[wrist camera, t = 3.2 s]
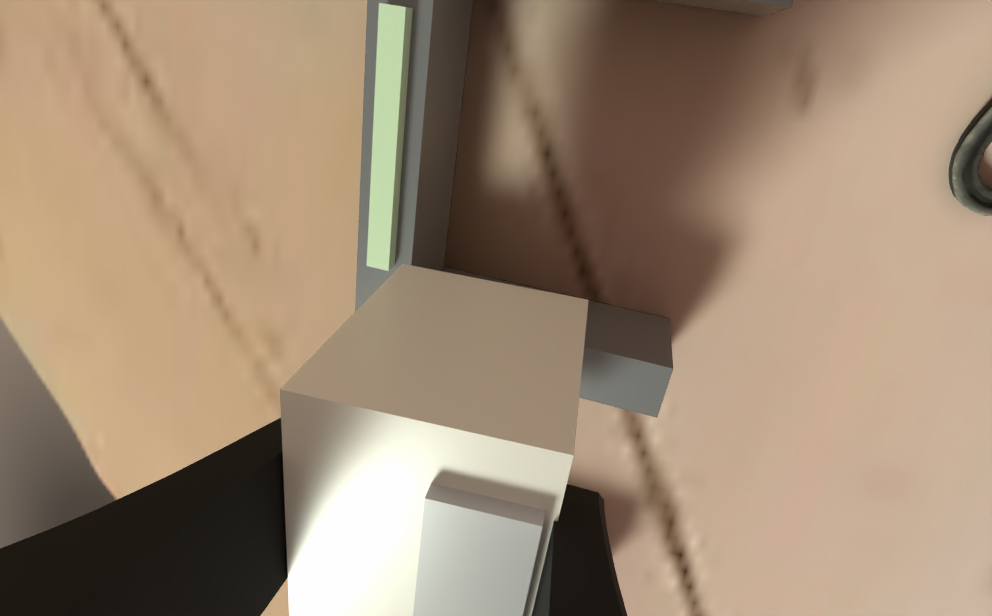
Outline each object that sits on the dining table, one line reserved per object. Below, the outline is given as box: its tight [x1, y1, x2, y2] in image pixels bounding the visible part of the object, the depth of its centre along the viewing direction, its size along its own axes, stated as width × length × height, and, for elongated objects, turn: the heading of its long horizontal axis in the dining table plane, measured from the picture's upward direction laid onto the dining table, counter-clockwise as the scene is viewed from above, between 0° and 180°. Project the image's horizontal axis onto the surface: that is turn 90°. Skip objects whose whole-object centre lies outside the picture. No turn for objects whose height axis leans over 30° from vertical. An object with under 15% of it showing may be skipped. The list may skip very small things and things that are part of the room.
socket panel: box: [355, 0, 793, 417], centre depth 16 cm, size 8×20×3 cm, turn 172°
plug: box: [280, 264, 588, 616], centre depth 11 cm, size 4×5×5 cm
